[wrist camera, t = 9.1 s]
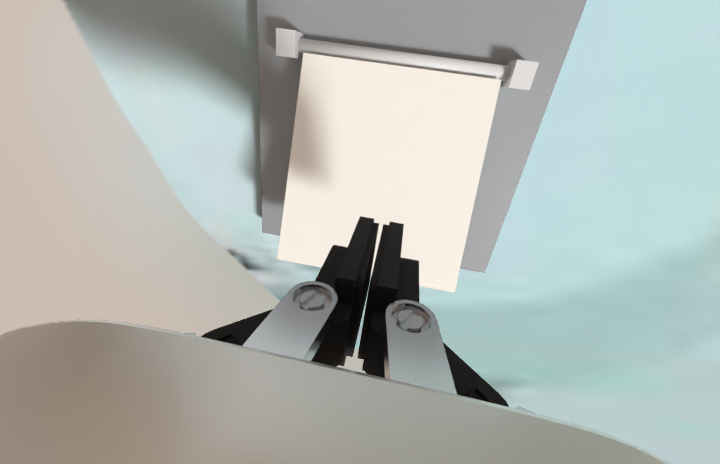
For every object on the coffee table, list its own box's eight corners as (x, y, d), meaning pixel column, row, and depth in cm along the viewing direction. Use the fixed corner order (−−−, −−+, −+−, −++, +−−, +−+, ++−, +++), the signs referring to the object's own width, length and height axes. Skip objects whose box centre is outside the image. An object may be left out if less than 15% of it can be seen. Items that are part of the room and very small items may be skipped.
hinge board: (265, -292, 13) (228, -386, 10) (671, -270, 12) (745, -370, 9) (270, 223, 24) (253, 241, 21) (480, 261, 23) (489, 284, 20)
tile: (277, 259, 17) (283, 255, 18) (454, 292, 17) (450, 286, 18) (303, 52, 16) (308, 61, 17) (501, 79, 15) (494, 87, 16)
